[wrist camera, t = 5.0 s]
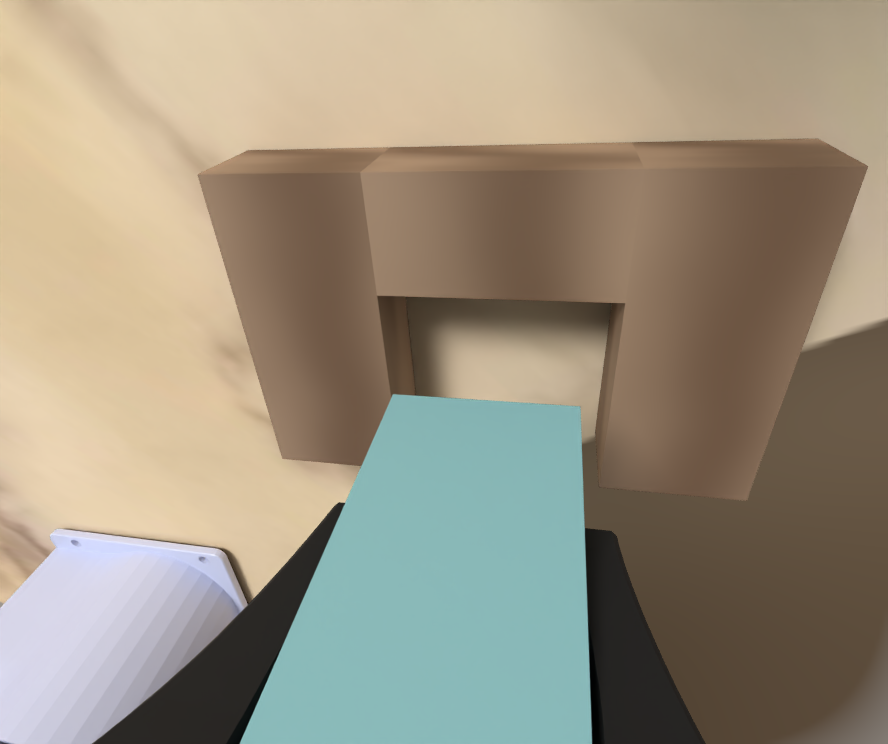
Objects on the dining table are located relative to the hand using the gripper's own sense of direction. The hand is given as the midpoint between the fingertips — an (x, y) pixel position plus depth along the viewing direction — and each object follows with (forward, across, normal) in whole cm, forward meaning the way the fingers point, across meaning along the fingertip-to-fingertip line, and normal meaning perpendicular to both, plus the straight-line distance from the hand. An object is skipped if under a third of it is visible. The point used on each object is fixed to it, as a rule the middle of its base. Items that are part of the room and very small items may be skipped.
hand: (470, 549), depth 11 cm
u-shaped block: (+8, 0, -2) cm, 8 cm away
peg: (+2, 0, 0) cm, 2 cm away
